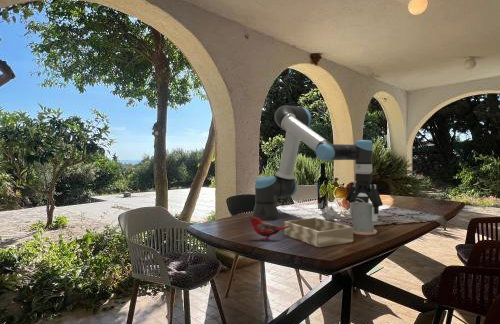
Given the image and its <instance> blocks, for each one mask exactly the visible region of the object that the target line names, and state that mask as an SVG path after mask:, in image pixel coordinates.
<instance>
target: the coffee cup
mask: <svg viewBox="0 0 500 324" xmlns="http://www.w3.org/2000/svg"><path fill="white" fill-rule="evenodd" d="M354 192H355V191H354ZM354 201H355V203H356V202H365V203H370V202H369V201H370V199H369V197H368V196H367V195H366V194H365V193H359V195H358V196H357V198H356V199H355V200H354Z"/></svg>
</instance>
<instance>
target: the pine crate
mask: <svg viewBox="0 0 500 324" xmlns="http://www.w3.org/2000/svg"><path fill="white" fill-rule="evenodd" d="M286 226H290V227H288V228H285V229H283V235H284V236H287V237H288V238H289V237H290V238H292V239H295V240H297V239H298V241H300V240H301V241H300V242H303V243H305V242H306V244H307V245H308V244H309V245H311V246H314V247H317V248H325V247H330V246H331V247H332V246H335V245H336V246H337V245H343V244H347V243H352V242H354V233H353V226H348V225H346V224H342V223H338V222H335V221H334V222H333V221H331V220H326V219H321V218H318V217H311V218H310V217H309V218H301V219H294V220H287V221H286V220H285V221H283V227H286Z"/></svg>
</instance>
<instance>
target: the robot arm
mask: <svg viewBox="0 0 500 324" xmlns="http://www.w3.org/2000/svg"><path fill="white" fill-rule="evenodd" d="M273 117H274V121H275V123H276V124H277V126H278V127H279V128H280V129H282V130H283V131H285V137H284V142H283V148H282V152H281V158H280V159H281V160H280V163H279V169H278V171H277V172H276V173H275V176H272V175H268V176H261V177H258V178H256V179H255V185H254V188H255V190H254V191H255V193H254V194H255V195H254V196H255V199H254V200H255V201H254V202H255V204H254V207H253V212H252V214H251V215H252V217H257V218H259V219H260V220H261V221H273V220H278V219H279V217H280V215H279V210H278V208H277V205H276V203H277V201H276V199H281V198H282V199H283V198H285V199H286V198H289V197H293V196H294V195H295V194H296V193H297V190H298V184H297V180H296V176H295V174H294V172H295V166H296V163H297V162H296V161H297V157H298V152H299V147H300V141H301V142H302V143H304V144H305V145H306V146H307V147H309V149H311V150H312V151H314V152H315V155H316V156H317V158H318V159H319V160H321V161H325V162H326V161H327V162H328V161H354V162H355V170H354V171H355V174H354V180H355V181H353V182H350V187H349V190H348V191H347V195H346V197H345V201H347V202H348V209H349V217H353V203H355V201H354V200H355V199H356V198H357V196H358V195H359V193H365V194H366V195H367V196H368V197H369V201H370V202H371V203H372V204H373V207H372V221H374V222H378V215H379V211H380V210H379V209H380V208H379V207H382V206H384V204H383V201H382V198H381V196H380V193H379V191H378V184H377V183H376V184H372V181H373V174H372V173H373V151H374V149H373V141H372V140H370V139H359V140H358V139H357V140H355V143H354V144H339V143H337V144H335V143H331V141H330V142H329V141H328V140H327V139H325V138H324V137H322V136H321V135H320V134H318V133H317V132H316V131H314V130H313V129H312V128H310V127H309V126H310V124H311V122H312V115H311V112H310V110H309V109H307V108H305V107H303V106H298V105H297V106H296V105H286V104H285V105H282V106H280V107H278V108H277V109H276V111H275V112H274V116H273ZM354 191H355V192H354ZM252 217H251V218H252Z"/></svg>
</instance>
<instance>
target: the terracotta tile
mask: <svg viewBox="0 0 500 324" xmlns="http://www.w3.org/2000/svg"><path fill="white" fill-rule="evenodd" d="M377 234H378V230H377V229H375V228H374V231H373V232H358V231H354V230H353V235H361V236H374V235H377Z"/></svg>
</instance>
